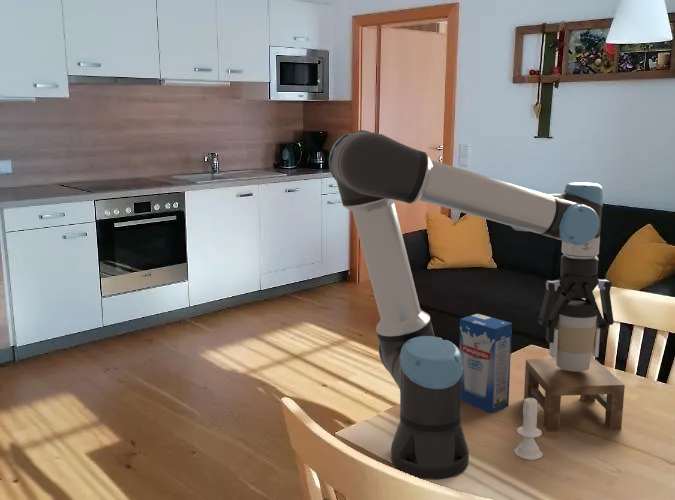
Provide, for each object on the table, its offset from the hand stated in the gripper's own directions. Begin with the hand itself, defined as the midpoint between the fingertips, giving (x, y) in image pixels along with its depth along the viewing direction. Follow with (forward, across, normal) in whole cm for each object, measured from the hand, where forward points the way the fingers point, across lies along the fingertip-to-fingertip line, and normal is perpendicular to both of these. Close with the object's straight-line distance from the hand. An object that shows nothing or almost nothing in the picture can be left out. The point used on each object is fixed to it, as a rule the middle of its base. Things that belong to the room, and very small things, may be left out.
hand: (573, 355), depth 148 cm
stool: (+14, 0, 0) cm, 14 cm away
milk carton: (+14, -18, +7) cm, 24 cm away
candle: (+14, -15, -17) cm, 27 cm away
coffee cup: (+3, 0, 0) cm, 3 cm away
